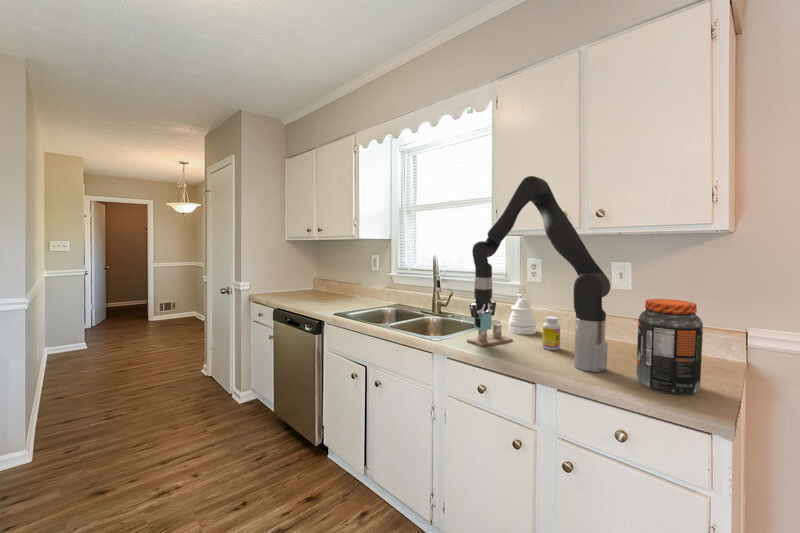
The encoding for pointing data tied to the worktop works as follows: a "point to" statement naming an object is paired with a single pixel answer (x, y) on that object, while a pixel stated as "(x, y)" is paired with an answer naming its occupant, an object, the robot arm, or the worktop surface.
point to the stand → (490, 337)
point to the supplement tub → (670, 346)
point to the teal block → (484, 321)
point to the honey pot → (522, 318)
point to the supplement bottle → (551, 334)
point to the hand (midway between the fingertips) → (482, 326)
